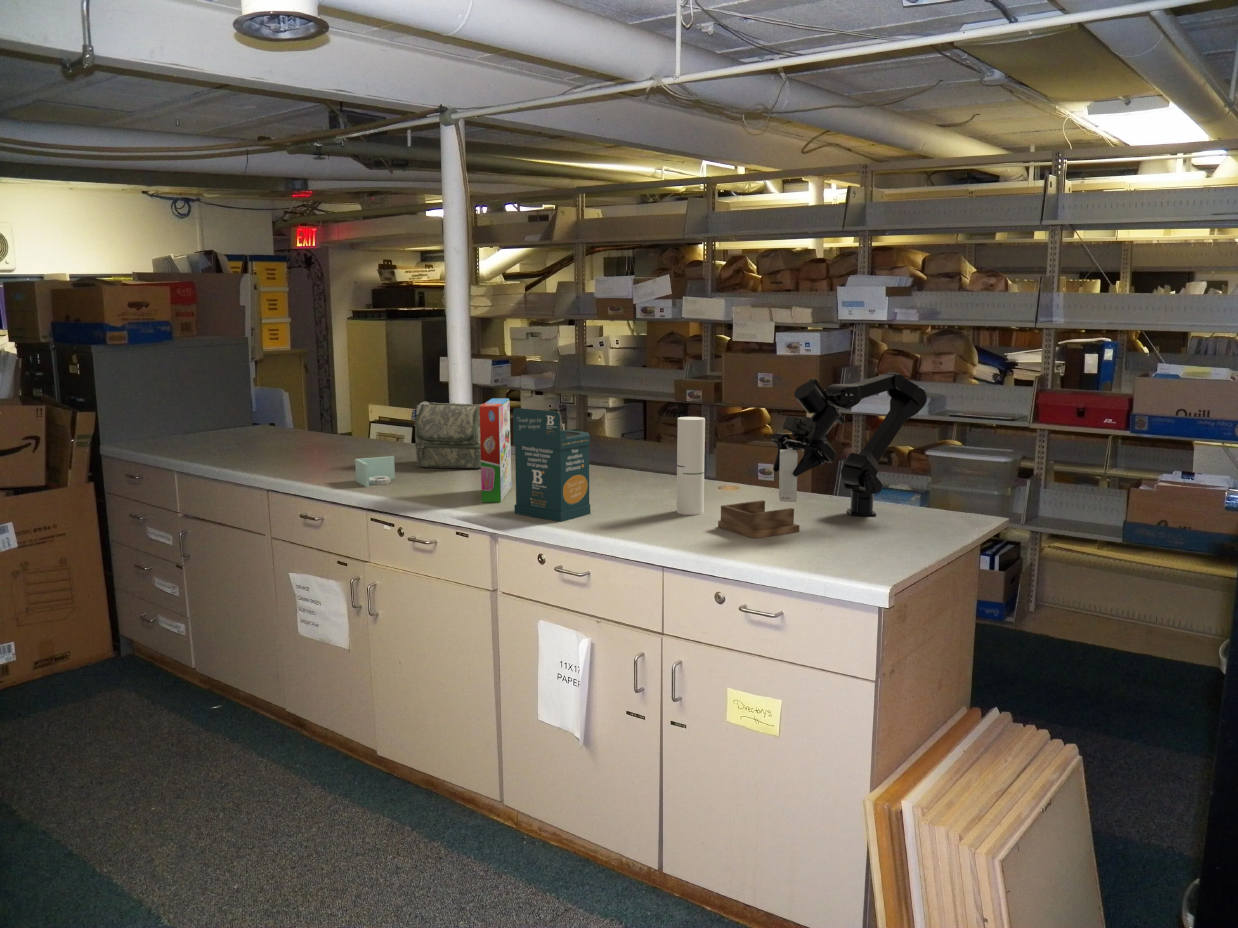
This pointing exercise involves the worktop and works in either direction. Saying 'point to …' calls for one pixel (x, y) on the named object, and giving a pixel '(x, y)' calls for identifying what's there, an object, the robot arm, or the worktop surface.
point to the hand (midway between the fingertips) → (784, 473)
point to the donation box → (550, 467)
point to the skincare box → (788, 476)
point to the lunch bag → (447, 435)
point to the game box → (495, 449)
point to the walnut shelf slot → (757, 519)
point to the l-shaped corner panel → (375, 470)
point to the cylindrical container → (690, 465)
